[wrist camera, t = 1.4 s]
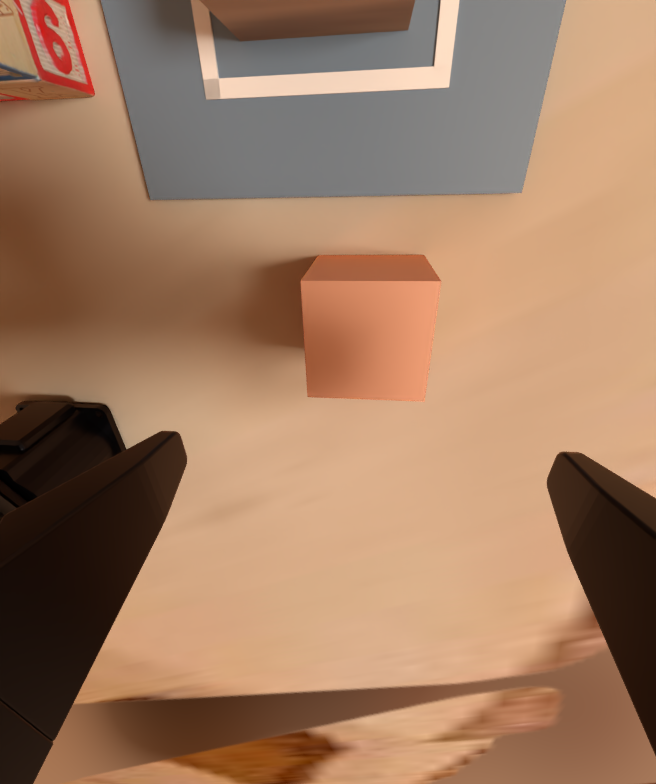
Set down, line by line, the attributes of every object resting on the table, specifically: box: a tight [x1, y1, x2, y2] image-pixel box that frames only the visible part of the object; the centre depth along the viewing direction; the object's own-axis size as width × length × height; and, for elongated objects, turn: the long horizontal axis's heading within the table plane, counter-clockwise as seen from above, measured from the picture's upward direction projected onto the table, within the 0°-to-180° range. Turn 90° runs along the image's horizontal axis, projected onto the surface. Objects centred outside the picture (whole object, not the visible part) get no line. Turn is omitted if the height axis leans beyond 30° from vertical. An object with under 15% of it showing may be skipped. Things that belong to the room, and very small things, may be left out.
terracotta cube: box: [300, 255, 441, 401], centre depth 16 cm, size 5×5×5 cm
